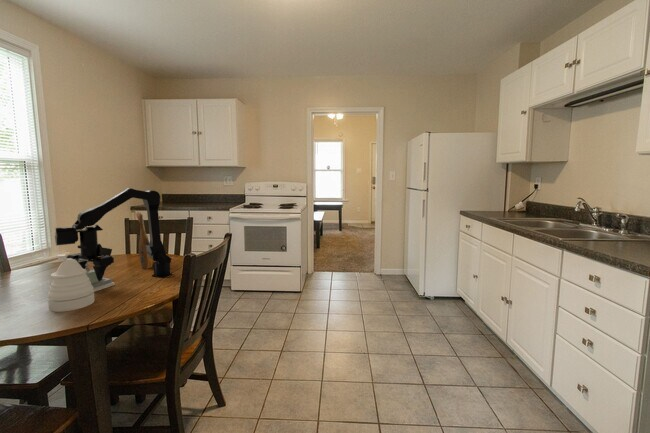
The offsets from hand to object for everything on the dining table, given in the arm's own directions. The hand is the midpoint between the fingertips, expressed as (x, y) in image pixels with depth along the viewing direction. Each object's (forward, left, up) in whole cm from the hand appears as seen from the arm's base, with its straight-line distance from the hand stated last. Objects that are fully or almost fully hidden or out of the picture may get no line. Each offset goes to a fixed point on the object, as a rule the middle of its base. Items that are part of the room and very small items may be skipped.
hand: (91, 279), depth 132 cm
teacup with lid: (+18, -8, -4) cm, 20 cm away
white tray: (0, 0, -4) cm, 4 cm away
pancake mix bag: (+8, -35, -4) cm, 36 cm away
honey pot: (-10, +15, -4) cm, 18 cm away
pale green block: (0, 0, -2) cm, 2 cm away
